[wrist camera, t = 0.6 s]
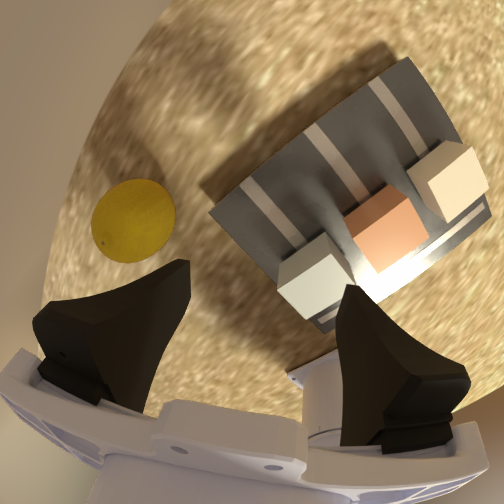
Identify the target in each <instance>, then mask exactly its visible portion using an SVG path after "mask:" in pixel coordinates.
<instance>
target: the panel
mask: <svg viewBox="0 0 504 504" xmlns="http://www.w3.org/2000/svg"><path fill="white" fill-rule="evenodd" d="M445 140H447V141H452V142H456V143H461V144H463V143H462V141H461V139H460V137H459V135H458V133H457V131H456V129H455V128H454V126H453V124H452V122H451V120H450V119H449V117H448V115H447V113H446V112H445V110H444V108H443V107H442V105H441V103H440V102H439V100H438V98H437V97H436V95H435V94H434V92H433V91H432V89H431V88H430V86H429V85H428V83H427V82H426V80H425V79H424V77H423V76H422V75H421V73H420V72H419V70H418V69H417V68H416V66H415V65H414V64H413V62H412V61H411V60H410V58H409V57H408V56H407V57H405V58H403V59H401V60H399V61H397V62H396V63H394V64H393V65H391V66H390V67H388V68H387V69H385V70H384V71H382V72H381V73H380V74H378V75H377V76H375V77H374V78H372V79H371V80H369V81H368V82H367V83H365V84H364V85H362V86H361V87H360V88H358V89H357V90H355V91H354V92H353V93H351V94H350V95H348V96H347V97H346V98H344V99H343V100H342V101H340V102H339V103H338V104H336V105H335V106H334V107H332V108H331V109H330V110H328V111H327V112H326V113H324V114H323V115H322V116H320V117H319V118H318V119H317V120H315V121H314V122H313V123H311V124H310V125H309V126H308V127H306V128H305V129H304V130H303V131H301V132H300V133H299V134H297V135H296V136H295V137H294V138H293V139H291V140H290V141H289V142H288V143H286V144H285V145H284V146H283V147H281V148H280V149H279V150H278V151H277V152H275V153H274V154H273V155H272V156H271V157H269V158H268V159H267V160H266V161H265V162H263V163H262V164H261V165H260V166H259V167H257V168H256V169H255V170H254V171H253V172H252V173H250V174H249V175H248V176H247V177H246V178H245V179H243V180H242V181H241V182H240V183H239V184H238V185H237V186H235V187H234V188H233V189H232V190H231V191H230V192H229V193H228V194H226V195H225V196H224V197H223V198H222V199H221V200H220V201H219V202H218V203H216V204H215V205H214V207H213V208H212V209H211V210H210V211H209V212H208V213H209V214H210V215H211V216H212V217H213V218H214V219H215V220H216V222H217V223H218V224H219V225H220V226H221V227H222V228H223V229H224V230H225V231H226V232H227V233H228V234H229V235H230V236H231V237H232V238H233V239H234V240H235V242H236V243H237V244H238V245H239V246H240V247H241V248H242V249H243V250H244V251H245V252H246V253H247V254H248V255H249V256H250V257H251V258H252V259H253V260H254V261H255V263H256V264H257V265H258V266H259V267H260V268H261V269H262V270H263V271H264V272H265V273H266V274H267V275H268V276H269V277H270V278H271V279H272V280H273V281H274V282H275V283H276V284H278V275H279V265H280V263H282V262H283V261H285V260H286V259H288V258H289V257H290V256H292V255H293V254H295V253H296V252H297V251H299V250H300V249H302V248H303V247H304V246H306V245H307V244H309V243H310V242H311V241H313V240H314V239H316V238H317V237H318V236H320V235H321V234H322V233H324V232H326V233H327V235H328V236H329V237H330V238H331V240H332V241H333V242H334V243H335V245H336V246H337V247H338V249H339V250H340V251H341V253H342V254H343V255H344V256H345V258H346V259H347V260H348V262H349V264H350V267H351V270H352V272H353V275H354V278H355V281H356V284H357V285H359V286H360V287H361V288H362V289H363V290H364V291H365V292H366V293H367V294H368V295H369V296H370V297H371V298H372V299H373V301H374V302H375V303H378V302H379V301H381V300H382V299H384V298H386V297H387V296H389V295H390V294H392V293H393V292H395V291H396V290H398V289H399V288H401V287H402V286H404V285H405V284H406V283H408V282H409V281H411V280H412V279H414V278H415V277H416V276H418V275H419V274H421V273H422V272H423V271H425V270H426V269H428V268H429V267H430V266H432V265H433V264H434V263H436V262H437V261H438V260H440V259H441V258H442V257H444V256H445V255H446V254H447V253H449V252H450V251H451V250H453V249H454V248H455V247H456V246H458V245H459V244H460V243H461V242H462V241H464V240H465V239H466V238H467V237H469V236H470V235H471V234H472V233H473V232H474V231H476V230H477V229H478V228H479V227H480V226H481V225H483V224H484V223H485V222H486V221H487V220H488V219H489V218H490V217H492V215H491V212H490V209H489V206H488V203H487V200H486V197H485V194H484V193H483V194H482V195H481V196H480V197H479V198H478V199H476V200H475V201H474V202H473V203H472V204H471V205H469V206H468V207H467V208H466V209H465V210H463V211H462V212H461V213H460V214H459V215H457V216H456V217H455V218H454V219H453V220H451V221H450V222H449V223H446V222H445V221H444V220H443V219H441V218H440V217H439V216H438V215H436V214H435V213H434V212H433V211H431V210H430V209H429V208H427V207H426V205H425V204H424V202H423V200H422V198H421V196H420V194H419V193H418V191H417V189H416V187H415V185H414V184H413V182H412V180H411V179H410V177H409V175H408V174H407V172H406V171H407V170H408V169H410V168H411V167H412V166H414V165H415V164H416V163H417V162H419V161H420V160H421V159H423V158H424V157H425V156H426V155H428V154H429V153H430V152H432V151H433V150H434V149H435V148H437V147H438V146H439V145H440V144H442V143H443V142H444V141H445ZM389 184H390V185H392V186H393V187H395V188H396V189H397V190H399V191H400V192H401V193H403V194H404V195H406V196H407V197H408V198H409V200H410V202H411V203H412V205H413V207H414V209H415V210H416V212H417V214H418V216H419V218H420V220H421V222H422V223H423V225H424V227H425V229H426V231H427V233H428V235H429V237H430V238H428V239H427V240H426V241H424V242H423V243H422V244H420V245H419V246H418V247H416V248H415V249H414V250H412V251H411V252H410V253H408V254H407V255H405V256H404V257H403V258H401V259H400V260H398V261H397V262H396V263H394V264H393V265H391V266H390V267H389V268H387V269H386V270H384V271H383V272H381V273H380V274H377V273H376V271H375V270H374V268H373V267H372V266H371V264H370V263H369V261H368V260H367V258H366V257H365V256H364V254H363V253H362V251H361V250H360V248H359V247H358V246H357V244H356V243H355V241H354V240H353V239H352V237H351V235H350V232H349V230H348V228H347V226H346V224H345V222H344V220H343V218H344V217H346V216H347V215H349V214H350V213H351V212H353V211H354V210H355V209H357V208H358V207H359V206H361V205H362V204H363V203H365V202H366V201H367V200H369V199H370V198H371V197H373V196H374V195H375V194H377V193H378V192H379V191H381V190H382V189H383V188H385V187H386V186H387V185H389ZM341 300H342V298H341V299H340V300H338V301H337V302H335V303H333V304H332V305H330V306H328V307H327V308H325V309H323V310H322V311H320V312H318V313H317V314H315V315H313V316H312V317H310V318H309V319H310V320H311V321H312V322H313V323H314V324H315V325H316V326H317V327H318V328H319V329H320V330H321V331H322V332H323V333H324V334H326V333H327V332H329V331H331V330H333V329H335V318H336V315H337V312H338V309H339V306H340V303H341Z"/></svg>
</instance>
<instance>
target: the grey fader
mask: <svg viewBox="0 0 504 504" xmlns="http://www.w3.org/2000/svg"><path fill="white" fill-rule="evenodd" d="M346 284H352V285H357V284H356V281H355V278H354V275H353V272H352V270H351V267H350V264H349V262H348V260H347V259H346V258H345V256H344V255H343V254H342V253H341V251H340V250H339V249H338V247H337V246H336V245H335V243H334V242H333V241H332V240H331V238H330V237H329V236H328V235H327V233H326V232H324V233H322V234H321V235H320V236H318V237H317V238H316V239H314V240H313V241H311V242H310V243H309V244H307V245H306V246H304V247H303V248H302V249H300V250H299V251H297V252H296V253H295V254H293V255H292V256H290V257H289V258H288V259H286V260H285V261H283V262H282V263H280V265H279V275H278V284H277V291H278V292H279V293H280V294H281V295H282V296H283V297H284V298H285V299H286V300H287V301H288V302H289V303H290V304H291V305H292V306H293V307H294V308H295V309H296V310H297V311H298V312H299V313H300V314H301V316H302V317H303V318H304V319H305V320H307V319H308V318H310V317H312V316H313V315H315V314H317V313H318V312H320V311H322V310H323V309H325V308H327V307H328V306H330V305H332V304H333V303H335V302H337V301H338V300H340V299H341V298H342V297H343V293H344V290H345V287H346Z"/></svg>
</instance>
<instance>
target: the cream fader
mask: <svg viewBox="0 0 504 504" xmlns="http://www.w3.org/2000/svg"><path fill="white" fill-rule="evenodd" d="M406 172H407V174H408V175H409V177H410V179H411V180H412V182H413V184H414V185H415V187H416V189H417V191H418V193H419V194H420V196H421V198H422V200H423V202H424V204H425V205H426V207H427V208H429V209H430V210H431V211H433V212H434V213H435V214H436V215H438V216H439V217H440V218H441V219H443V220H444V221H445V222H446V223H449V222H450V221H451V220H453V219H454V218H455V217H456V216H457V215H459V214H460V213H461V212H462V211H463V210H465V209H466V208H467V207H468V206H469V205H471V204H472V203H473V202H474V201H475V200H476V199H478V198H479V197H480V196H481V195H482V194H483V193H484V192H485V191H487V190H488V189H489V186H488V184H487V181H486V178H485V176H484V173H483V171H482V168H481V166H480V163H479V161H478V159H477V156H476V154H475V152H474V150H473V148H472V146H469V145H465V144H461V143H456V142H452V141H447V140H445V141H444V142H443V143H442V144H440V145H439V146H438V147H437V148H435V149H434V150H433V151H432V152H430V153H429V154H428V155H426V156H425V157H424V158H423V159H421V160H420V161H419V162H417V163H416V164H415V165H414V166H412V167H411V168H410V169H408V170H407V171H406Z"/></svg>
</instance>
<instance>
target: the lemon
mask: <svg viewBox="0 0 504 504" xmlns="http://www.w3.org/2000/svg"><path fill="white" fill-rule="evenodd" d="M175 221H176V209H175V205H174V202H173V200H172V198H171V196H170V194H169V193H168V192H167V190H166V189H165V188H164V187H163V186H161V185H160V184H159V183H156V182H154V181H152V180H149V179H132V180H127V181H124V182H122V183H120V184H118V185H116V186H115V187H113V188H111V189H110V190H109V191H108V192H107V193H106V194H105V195H104V196H103V197H102V198H101V200H100V201H99V202H98V204H97V206H96V208H95V210H94V212H93V216H92V221H91V230H92V235H93V239H94V241H95V243H96V245H97V247H98V248H99V250H100V251H101V252H102V253H103V254H104V255H105V256H107V257H108V258H110V259H111V260H114V261H116V262H120V263H134V262H139V261H142V260H144V259H146V258H148V257H150V256H151V255H153V254H155V253H156V252H157V251H158V250H159V249H160V248H161V247H162V246H163V245H164V244H165V243H166V242H167V241H168V239H169V237H170V235H171V233H172V231H173V229H174V225H175Z"/></svg>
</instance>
